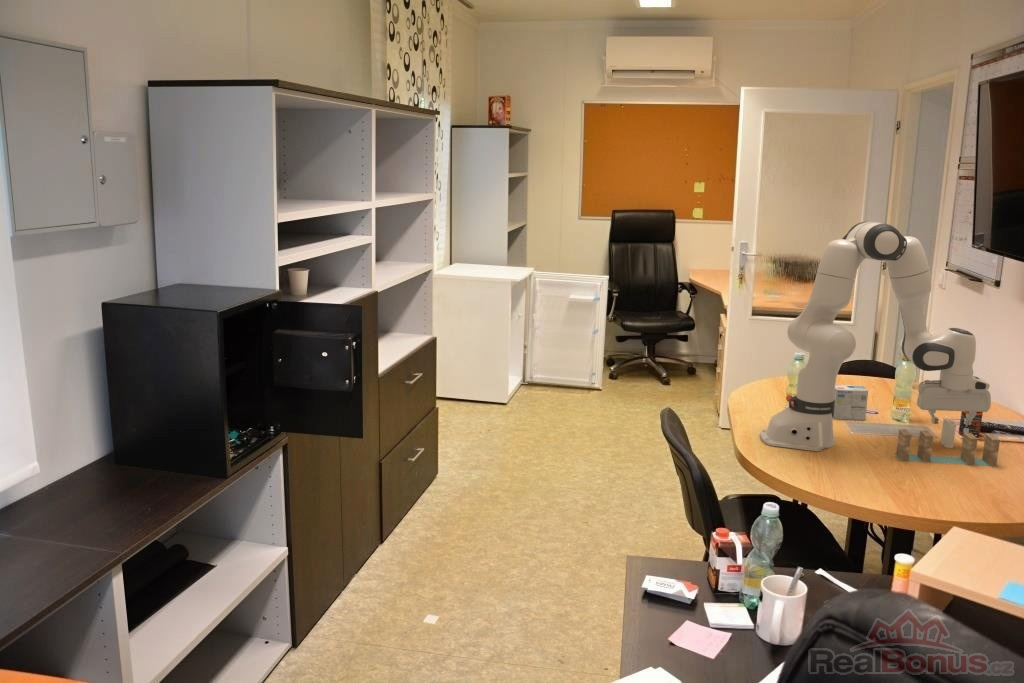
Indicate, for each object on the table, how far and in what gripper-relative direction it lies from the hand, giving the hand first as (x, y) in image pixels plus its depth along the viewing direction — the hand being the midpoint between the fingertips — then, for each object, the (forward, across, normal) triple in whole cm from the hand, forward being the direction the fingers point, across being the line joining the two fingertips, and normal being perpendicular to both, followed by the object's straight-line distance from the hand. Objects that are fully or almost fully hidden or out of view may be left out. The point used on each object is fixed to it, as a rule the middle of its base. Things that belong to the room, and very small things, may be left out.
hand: (950, 423), depth 250 cm
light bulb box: (+7, -24, +25) cm, 36 cm away
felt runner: (+7, -6, -14) cm, 17 cm away
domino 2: (+6, -12, -14) cm, 20 cm away
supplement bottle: (+8, +10, +12) cm, 18 cm away
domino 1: (+6, -18, -14) cm, 24 cm away
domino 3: (+7, -1, 0) cm, 7 cm away
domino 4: (+7, 0, -14) cm, 16 cm away
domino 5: (+7, +6, -14) cm, 17 cm away
